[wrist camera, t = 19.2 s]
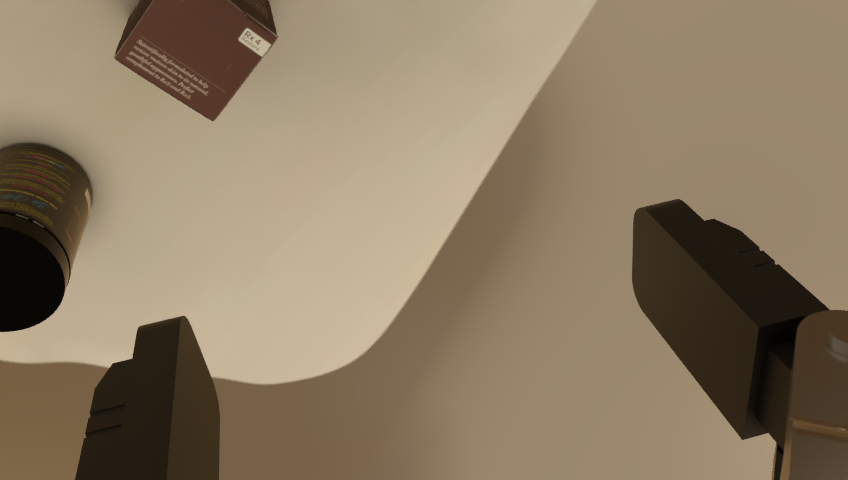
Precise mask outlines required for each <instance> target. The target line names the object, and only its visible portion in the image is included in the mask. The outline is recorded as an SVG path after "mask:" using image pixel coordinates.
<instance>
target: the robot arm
mask: <svg viewBox="0 0 848 480" xmlns="http://www.w3.org/2000/svg"><path fill="white" fill-rule="evenodd" d="M632 282H633V289H634V292H635V296H636V299H637V301H638V303H639V305H640V308H641V309H642V311H643V312H644V313H645V315H646V316H647V317H648V319H649V320H650V321H651V322H652V324H653V325H654V326H655V328H656V329H657V330H658V332H659V333H660V334H661V335H662V337H663V338H664V339H665V341H666V342H667V343H668V344H669V346H670V347H671V348H672V350H673V351H674V352H675V354H676V355H677V356H678V357H679V359H680V360H681V361H682V363H683V364H684V365H685V366H686V368H687V369H688V370H689V372H691V374H692V375H693V376H694V378H695V379H696V381H697V382H698V383H699V385H700V386H701V387H702V388H703V390H704V391H705V392H706V393H707V395H708V396H709V397H710V399H711V400H712V401H713V403H714V404H715V405H716V406H717V408H718V409H719V410H720V411H721V413H722V414H723V416H724V417H725V418H726V419H727V421H728V422H729V423H730V425H731V426H732V427H733V428H734V430H735V431H736V432H737V433H738V435H739V436H740V437H741V439H742V440H744V439H748V438H751V437H755V436H759V435H762V434H765V433H769V434H770V435H771V436H772V438H773V439H774V440H775V441H776V447H775V453H774V460H773V471H772V480H848V311H845V310H829V309H828V308H827V307H826V306H825V305H824V304H823V303H822V302H820V301H819V300H818V299H817V298H816V297H815V296H814V295H813V294H811V293H810V292H809V291H808V290H807V289H806V288H805V287H804V286H802V285H801V284H800V283H799V282H798V281H797V280H795V278H793V277H792V276H791V275H790V274H789V273H788V272H787V271H785V270H784V269H783V268H782V267H781V266H780V265H776V264H775V261H774V260H773V259H772V258H771V257H770V256H769V255H767V254H766V253H765V252H764V251H760V249H759V247H758V246H757V245H756V244H755V243H754V242H753V241H752V240H750V239H749V238H748V237H747V236H746V235H745V234H744V233H743V232H741V231H740V230H738V229H736V228H733V227H731V226H729V225H727V224H724V223H722V222H720V221H717V220H715V219H711V220H706V221H704V220H703V219H702V218H701V217H700V216H699V215H697V214H696V213H695V212H694V211H693V210H692V209H691V208H690V207H689V206H688V205H687V204H686V203H684V202H683V201H682V200H680V199H676V200H672V201H668V202H663V203H659V204H655V205H650V206H646V207H643V208H639V209H637V210H636V212H635V214H634V223H633V263H632ZM90 415H91V417H90V418H89V419H88V423H87V428H86V432H85V434H86V438H84V441H83V446H82V451H81V455H80V460H79V464H78V469H77V473H76V478H75V480H219V440H220V412H219V404H218V399H217V395H216V390H215V386H214V383H213V381H212V378H211V375H210V373H209V370H208V368H207V365H206V363H205V360H204V358H203V355H202V353H201V350H200V348H199V345H198V342H197V340H196V337H195V335H194V332H193V330H192V327H191V325H190V323H189V321H188V319H187V318H186V317H185V316H180V317H176V318H172V319H168V320H164V321H160V322H155V323H151V324H147V325H143V326H140V327H139V328H138V330H137V335H136V341H135V347H134V353H133V359H129V360H125V361H121V362H117V363H113V364H112V365H111V367H110V368H109V370H108V371H107V372H106V374H105V375H104V377H103V378H102V379H101V381H100V382H99V384H98V385H97V387H96V388H95V391H94V396H93V401H92V405H91V410H90Z"/></svg>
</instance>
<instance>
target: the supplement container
mask: <svg viewBox="0 0 848 480" xmlns="http://www.w3.org/2000/svg"><path fill="white" fill-rule="evenodd" d="M91 207H92V192H91V188H90V185H89V182H88V180H87V178H86V177H85V175H84V174H83V172H82V171H81V170H80V168H79V167H78V166H77V165H76V164H75V163H74V162H72V161H71V160H70V159H68V158H67V157H65V156H64V155H62V154H60V153H58V152H56V151H53V150H50V149H47V148H43V147H37V146H18V147H13V148H9V149H5V150H3V151H0V332H9V331H17V330H22V329H26V328H29V327H32V326H35V325H37V324H39V323H41V322H42V321H44V320H46V319H47V318H48V317H50V316H51V315H52V314H53V313H54V312H55V311H56V309H57V308H58V307H59V305H60V303H61V301H62V299H63V296H64V293H65V290H66V287H67V285H68V283H69V280H70V275H71V269H72V266H73V263H74V260H75V257H76V254H77V251H78V248H79V245H80V241H81V238H82V235H83V232H84V229H85V226H86V223H87V220H88V217H89V214H90V210H91Z"/></svg>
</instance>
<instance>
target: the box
mask: <svg viewBox="0 0 848 480" xmlns="http://www.w3.org/2000/svg"><path fill="white" fill-rule="evenodd" d="M277 38H278V36H277V33H276V28H275V25H274V21H273V16H272V12H271V8H270V4H269V1H268V0H140V2H139V3H138V5H137V7H136V8H135V9H134V11H133V13H132V14H131V16H130V17H129V19H128V21H127V24H126V26H125V29H124V31H123V35H122V37H121V40H120V42H119V44H118V47H117V50H116V53H115V56H114V58H115V59H116V60H117V61H119V62H120V63H121V64H123V65H124V66H126V67H128V68H129V69H131V70H132V71H134V72H135V73H137V74H138V75H140V76H141V77H143V78H144V79H146V80H148V81H149V82H151V83H153V84H154V85H156V86H157V87H159V88H160V89H162V90H164V91H165V92H167V93H168V94H170V95H171V96H173V97H175V98H176V99H178V100H179V101H181V102H183V103H184V104H186V105H187V106H189V107H190V108H192V109H193V110H195V111H196V112H198V113H200V114H202V115H203V116H205V117H206V118H208V119H210V120H211V121H214V120H215V119H216V118H217V117H218V116H219V114H220V113H221V112H222V110H223V109H224V108H225V107H226V105H227V104H228V102H229V101H230V100H231V98H232V97H233V96H234V94H235V93H236V92H237V91H238V89H239V88H240V87H241V85H242V84H243V83H244V81H245V80H246V79H247V77H248V76H249V75H250V73H251V72H252V71H253V69H254V68H255V67H256V66H257V64H258V63H259V62H260V60H261V59H262V58H263V56H264V55H265V54H266V53H267V51H268V50H269V49H270V48H271V46H272V45H273V44H274V42H275V41H276V40H277Z"/></svg>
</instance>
